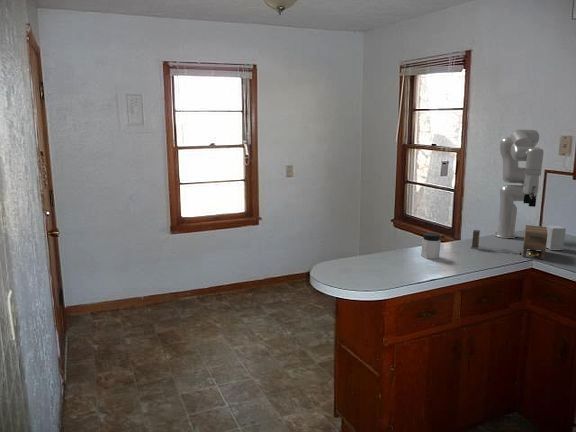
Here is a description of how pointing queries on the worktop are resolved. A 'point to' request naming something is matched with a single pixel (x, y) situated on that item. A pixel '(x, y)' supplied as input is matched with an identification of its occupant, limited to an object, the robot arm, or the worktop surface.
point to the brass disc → (533, 253)
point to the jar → (431, 245)
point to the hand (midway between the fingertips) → (529, 204)
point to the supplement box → (555, 237)
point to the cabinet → (535, 239)
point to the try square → (476, 246)
